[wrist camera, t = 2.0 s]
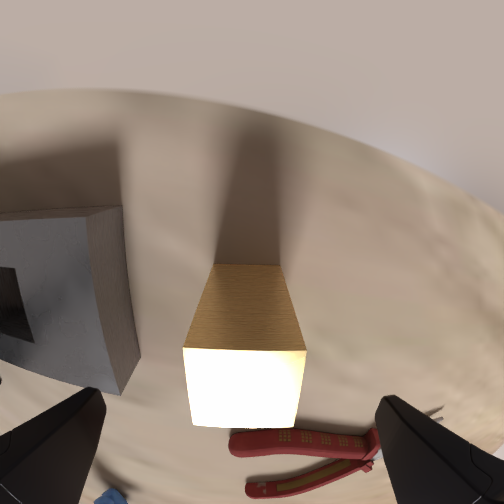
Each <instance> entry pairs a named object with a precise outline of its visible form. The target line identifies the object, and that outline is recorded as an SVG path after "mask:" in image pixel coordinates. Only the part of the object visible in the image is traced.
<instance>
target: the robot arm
mask: <svg viewBox="0 0 504 504" xmlns="http://www.w3.org/2000/svg"><path fill="white" fill-rule="evenodd" d="M0 384H1V380H0ZM105 415H106V404H105V402H104V399H103V396H102V394H101V391H100V390H99V389H98V388H94V387H86V388H84V389H82V390H81V391H79V392H77V393H76V394H74V395H72V396H71V397H69V398H67V399H65V400H64V401H62V402H60V403H58V404H57V405H55V406H53V407H52V408H50V409H48V410H46V411H45V412H43V413H41V414H39V415H38V416H36V417H34V418H32V419H30V420H29V421H27V422H25V423H23V424H21V425H20V426H18V427H16V428H14V429H13V430H12V431H9V432H7V433H5V434H3V435H1V436H0V504H78V503H79V500H80V497H81V494H82V491H83V488H84V485H85V482H86V479H87V476H88V473H89V470H90V467H91V464H92V461H93V459H94V456H95V453H96V450H97V447H98V443H99V439H100V435H101V431H102V427H103V423H104V419H105ZM375 421H376V426H377V431H378V435H379V440H380V445H381V450H382V455H383V458H384V462H385V465H386V468H387V471H388V474H389V477H390V480H391V484H392V487H393V490H394V494H395V497H396V500H397V504H504V460H501V459H499V458H497V457H495V456H493V455H491V454H489V453H487V452H485V451H483V450H481V449H480V448H478V447H476V446H475V445H473V444H470V443H469V442H468V441H466V440H465V439H463V438H461V437H460V436H458V435H456V434H455V433H453V432H452V431H450V430H448V429H447V428H445V427H444V426H442V425H441V424H439V423H437V422H436V421H434V420H433V419H431V418H430V417H428V416H426V415H425V414H423V413H422V412H420V411H419V410H417V409H416V408H414V407H413V406H411V405H410V404H408V403H407V402H405V401H404V400H402V399H401V398H399V397H398V396H396V395H388V396H384V397H382V399H381V401H380V403H379V406H378V408H377V410H376V413H375Z"/></svg>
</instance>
